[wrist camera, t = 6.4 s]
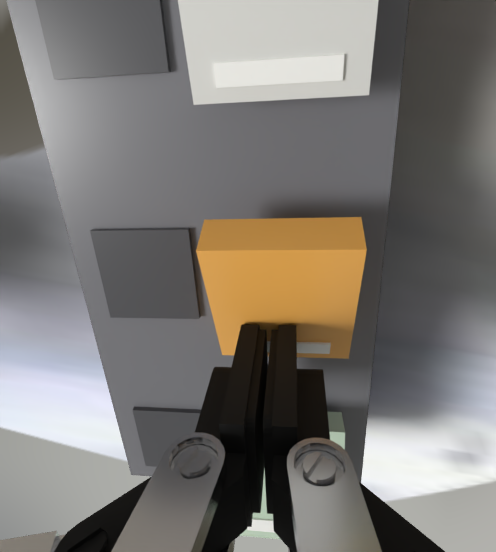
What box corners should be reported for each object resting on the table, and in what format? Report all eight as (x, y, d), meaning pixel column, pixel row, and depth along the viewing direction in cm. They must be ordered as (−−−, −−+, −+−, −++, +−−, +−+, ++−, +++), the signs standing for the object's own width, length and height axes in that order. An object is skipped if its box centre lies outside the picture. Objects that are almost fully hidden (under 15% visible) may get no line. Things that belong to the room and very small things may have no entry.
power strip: (408, -373, 9) (487, -703, 5) (349, 418, 20) (361, 499, 16) (19, -295, 11) (-144, -516, 7) (159, 409, 21) (127, 482, 17)
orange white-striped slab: (361, 216, 10) (367, 251, 9) (345, 327, 13) (348, 360, 12) (204, 219, 10) (195, 252, 10) (227, 325, 14) (222, 357, 13)
